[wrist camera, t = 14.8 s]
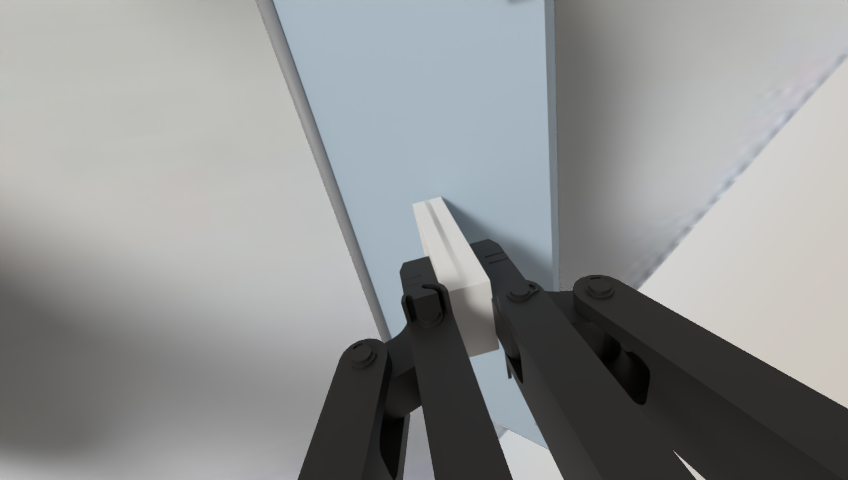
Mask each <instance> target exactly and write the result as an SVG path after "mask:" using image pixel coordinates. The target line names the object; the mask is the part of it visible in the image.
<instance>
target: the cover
mask: <svg viewBox="0 0 848 480" xmlns="http://www.w3.org/2000/svg"><path fill="white" fill-rule="evenodd" d="M256 3H257V6H258V8H259V11H260V14H261V16H262V19H263V22H264V24H265V27H266V30H267V33H268V35H269V38H270V41H271V43H272V46H273V49H274V51H275V54H276V57H277V59H278V62H279V65H280V67H281V70H282V73H283V76H284V78H285V81H286V84H287V86H288V89H289V92H290V94H291V97H292V100H293V102H294V105H295V108H296V110H297V113H298V116H299V119H300V121H301V124H302V127H303V129H304V132H305V135H306V137H307V140H308V143H309V145H310V148H311V151H312V153H313V156H314V159H315V162H316V164H317V167H318V170H319V172H320V175H321V178H322V180H323V183H324V186H325V188H326V191H327V194H328V196H329V199H330V202H331V205H332V207H333V210H334V213H335V215H336V218H337V221H338V223H339V226H340V229H341V231H342V234H343V237H344V239H345V242H346V245H347V248H348V250H349V253H350V256H351V258H352V261H353V264H354V266H355V269H356V272H357V274H358V277H359V280H360V282H361V285H362V288H363V291H364V293H365V296H366V299H367V301H368V304H369V307H370V309H371V312H372V315H373V317H374V320H375V323H376V325H377V328H378V331H379V334H380V336H381V339H382V342H383V343H385V342H387V341H389V340H391V339H392V338H394V337H395V336H397V335H398V334H399V333H400V332H401V331H402V330H403V329H404V327H405V326H406V324H407V321H406V318H405V314H404V311H403V308H402V305H401V299H402V296H403V288H402V283H401V278H400V273H399V271H400V269H401V267H402V264H403V263H404V262H408V261H411V260H415V259H419V258H423V257H425V254H424V250H423V246H422V242H421V238H420V234H419V230H418V226H417V222H416V218H415V214H414V209H413V205H412V204H414V203H418V202H422V201H426V200H430V199H434V198H437V197H441V198H442V200H443V202H444V203H445V205H446V207H447V208H448V210H449V212H450V213H451V215H452V217H453V219H454V220H455V222H456V224H457V225H458V227H459V229H460V230H461V232H462V234H463V236H464V237H465V239H466V241H467V242H468V244H471V243H475V242H478V241H482V240H486V239H490V240H492V241H494V242H496V243H498V244H499V245H500V246H501V247H502V249H503V250H504V252H505V253H506V254H507V255H508V257H509V259H511V261H512V262H513V263H514V265H515V266H516V267H517V269H518V270H519V271H520V273H521V274H522V275H523V277H524V278H525V279H526V280H530V281H533V282H535V283H537V284H538V285H540V286H541V287H542V288H543V289H544V291H555V292H558V291H560V272H559V221H558V170H557V119H556V68H555V17H554V0H256ZM498 341H499V339H498ZM499 348H500V349H498V350H495V351H491V352H488V353H484V354H481V355H477V356H473V357H470V358H469V359H470V362H471V365H472V367H473V370H474V373H475V376H476V379H477V381H478V384H479V387H480V390H481V392H482V395H483V398H484V401H485V404H486V406H487V409H488V412H489V415H490V418H491V420H492V421H493V422H495V423H497V424H499V425H501V426H503V427H505V428H507V429H509V430H511V431H513V432H515V433H517V434H519V435H521V436H523V437H525V438H527V439H529V440H531V441H533V442H535V443H537V444H539V445H541V446H543V447H544V448H546V449H548V450H549V448H548V446H547V444H546V442H545V440H544V438H543V436H542V434H541V432H540V430H539V428H538V426H537V424H536V422H535V420H534V418H533V416H532V414H531V412H530V410H529V407H528V405H527V403H526V401H525V399H524V397H523V395H522V393H521V391H520V389H519V387H518V385H517V383H516V381H515V379H514V377H513V375H512V378H511V379H508V374H507V368H506V360H505V353H504V349H503V347H502V345H501V343H500V341H499ZM511 374H512V373H511Z"/></svg>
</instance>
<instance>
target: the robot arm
mask: <svg viewBox="0 0 848 480" xmlns="http://www.w3.org/2000/svg"><path fill="white" fill-rule="evenodd" d="M412 205H413V209H414V214H415V218H416V222H417V226H418V230H419V234H420V238H421V242H422V246H423V250H424V254H425V257H423V258H419V259H415V260H411V261H408V262H404V263H403V264H402V267H401V269H400V271H399V273H400V278H401V283H402V288H403V296H402V299H401V305H402V308H403V311H404V314H405V318H406V321H407V324H406V326H405V327H404V329H403V330H402V331H401V332H400V333H399V334H398V335H397V336H395V337H394V338H392V339H391V340H389V341H387V342H385V343H383V342H382V341H380V340H378V339H364V340H360V341H358V342H356V343H354V344H352V345H351V346H350V347H349V348H348V349H347V350H345V351H344V353H343V355H342V356H341V358H340V360H339V363H338V366H337V369H336V371H335V374H334V377H333V380H332V383H331V386H330V389H329V391H328V394H327V397H326V400H325V403H324V406H323V409H322V411H321V414H320V417H319V420H318V423H317V426H316V429H315V431H314V434H313V437H312V440H311V443H310V446H309V449H308V452H307V454H306V457H305V460H304V463H303V466H302V469H301V472H300V474H299V477H298V480H403V473H404V464H405V456H406V447H407V438H408V430H409V421H410V412H412V411H413V410H415V409H416V408H418V407H419V406H421V405H422V408H423V414H424V419H425V425H426V431H427V436H428V442H429V448H430V453H431V459H432V465H433V470H434V476H435V480H513V479H512V476H511V473H510V471H509V468H508V465H507V462H506V459H505V457H504V454H503V451H502V449H501V445H500V443H499V440H498V437H497V434H496V431H495V429H494V426H493V423H492V420H491V418H490V415H489V412H488V409H487V406H486V404H485V401H484V398H483V395H482V392H481V390H480V387H479V384H478V381H477V379H476V376H475V373H474V370H473V367H472V365H471V362H470V359H469V358H470V357H473V356H477V355H481V354H484V353H488V352H491V351H495V350H498V349H500V348H499V341H500V343H501V345H502V347H503V349H504V353H505V360H506V368H507V374H508V379H511V378H512V375H513V377H514V379H515V381H516V383H517V385H518V387H519V389H520V391H521V393H522V395H523V397H524V399H525V401H526V403H527V405H528V407H529V410H530V412H531V414H532V416H533V418H534V420H535V422H536V424H537V426H538V428H539V430H540V432H541V434H542V436H543V438H544V440H545V442H546V444H547V446H548V448H549V450H550V452H551V454H552V456H553V458H554V460H555V462H556V464H557V466H558V468H559V471H560V473H561V475H562V477H563V479H564V480H696V479H695V477H694V476H693V475H692V474H691V472H690V471H689V470H688V469H687V468H686V466H685V465H684V464H683V463H682V461H681V460H680V459H679V457H678V456H677V455H676V454H675V453H674V452H676V453H677V454H678V455H679V456H680V457H681V458H682V459H683V460H684V461H686V462H687V463H688V464H689V465H690V466H692V468H693V469H695V470H696V471H697V472H698V473H699V474H700V475H701V476H702V477H704V478H705V479H706V480H848V409H847V408H846V407H844V406H842V405H840V404H838V403H837V402H835V401H833V400H831V399H829V398H828V397H826V396H824V395H822V394H820V393H819V392H817V391H815V390H813V389H811V388H810V387H808V386H806V385H804V384H802V383H801V382H799V381H797V380H796V379H794V378H792V377H790V376H788V375H787V374H785V373H783V372H781V371H779V370H777V369H776V368H774V367H772V366H770V365H769V364H767V363H765V362H763V361H762V360H760V359H758V358H756V357H754V356H753V355H751V354H749V353H747V352H745V351H743V350H742V349H740V348H738V347H736V346H735V345H733V344H731V343H729V342H728V341H726V340H724V339H722V338H720V337H719V336H717V335H715V334H713V333H711V332H710V331H708V330H706V329H704V328H703V327H701V326H699V325H697V324H695V323H694V322H692V321H690V320H688V319H687V318H685V317H683V316H681V315H679V314H678V313H676V312H674V311H672V310H670V309H669V308H667V307H665V306H663V305H662V304H660V303H658V302H656V301H654V300H653V299H651V298H649V297H647V296H645V295H644V294H642V293H640V292H638V291H636V290H635V289H633V288H631V287H629V286H628V285H626V284H624V283H622V282H620V281H619V280H616V279H614V278H611V277H609V276H603V275H589V276H586V277H583V278H580V279H579V280H578V281H576V282H575V284H574V287H573V291H558V292H555V291H544V289H543V288H542V287H541V286H540V285H538V284H537V283H535V282H533V281H530V280H526V279H525V278H524V277H523V275H522V274H521V273H520V271H519V270H518V269H517V267H516V266H515V265H514V263H513V262H512V261H511V259H509V257H508V255H507V254H506V253H505V252H504V250H503V249H502V247H501V246H500V245H499V244H498V243H496V242H494V241H492V240H490V239H486V240H482V241H478V242H475V243H471V244H468V242H467V241H466V239H465V237H464V236H463V234H462V232H461V230H460V229H459V227H458V225H457V224H456V222H455V220H454V219H453V217H452V215H451V213H450V212H449V210H448V208H447V207H446V205H445V203H444V202H443V200H442V198H441V197H437V198H434V199H430V200H426V201H422V202H418V203H414V204H412ZM498 339H499V341H498ZM511 373H512V374H511Z"/></svg>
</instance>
